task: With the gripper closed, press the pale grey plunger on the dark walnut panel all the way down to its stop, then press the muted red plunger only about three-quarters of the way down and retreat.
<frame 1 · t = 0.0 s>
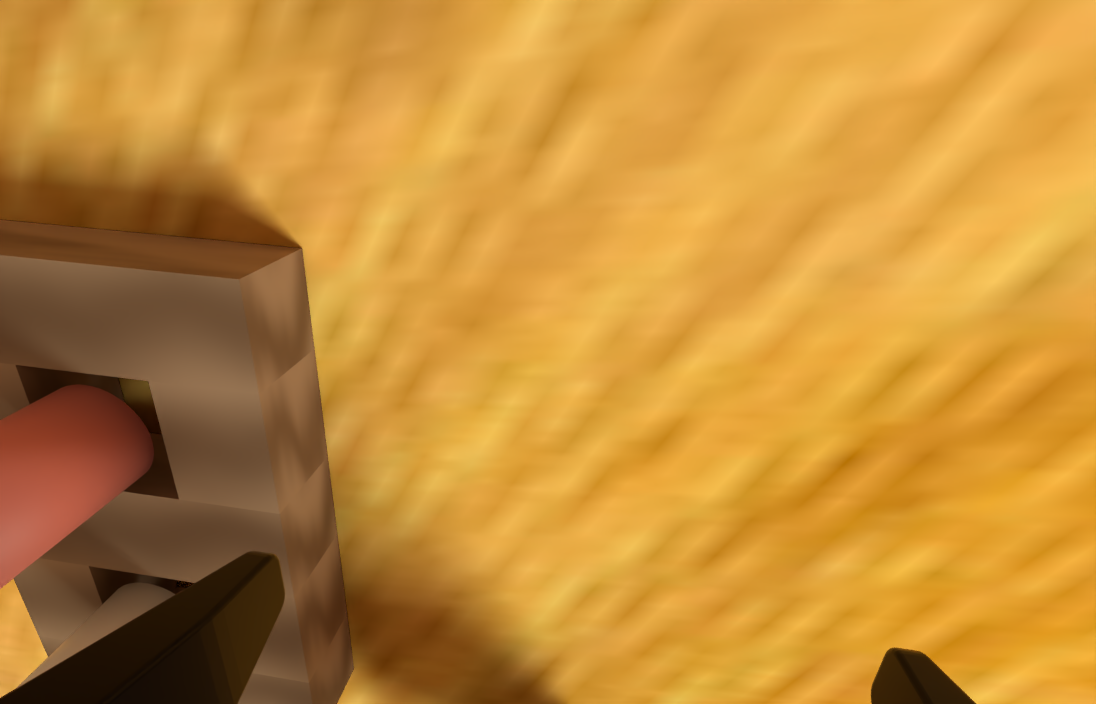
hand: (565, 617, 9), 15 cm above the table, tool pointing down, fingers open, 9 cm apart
red plunger: (28, 481, 20), point 7 cm above the table, slide at 0.0 cm
press panel: (195, 477, 29), on the table
grey plunger: (104, 677, 24), point 7 cm above the table, slide at 0.0 cm
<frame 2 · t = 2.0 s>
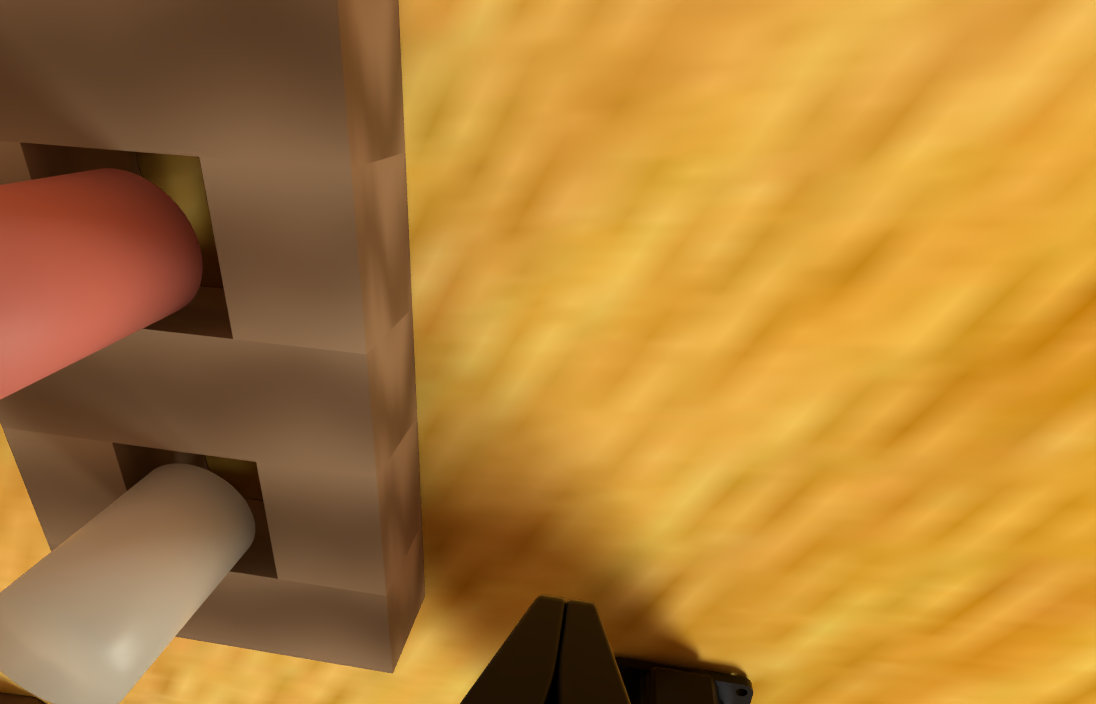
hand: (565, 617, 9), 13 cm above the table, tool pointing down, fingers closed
red plunger: (38, 275, 15), point 7 cm above the table, slide at 0.0 cm
press panel: (241, 345, 23), on the table
grey plunger: (135, 575, 19), point 7 cm above the table, slide at 0.0 cm
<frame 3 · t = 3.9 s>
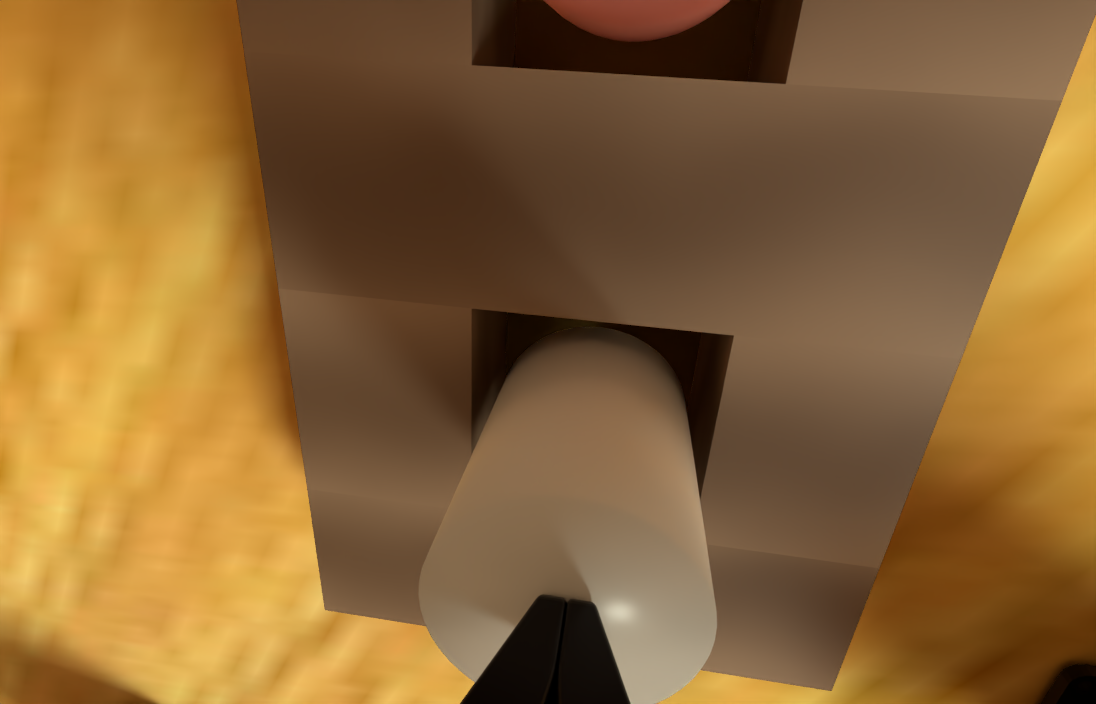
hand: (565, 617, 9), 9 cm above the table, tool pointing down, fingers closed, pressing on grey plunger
press panel: (617, 177, 15), on the table
grey plunger: (580, 490, 11), point 6 cm above the table, slide at 0.9 cm, touching gripper
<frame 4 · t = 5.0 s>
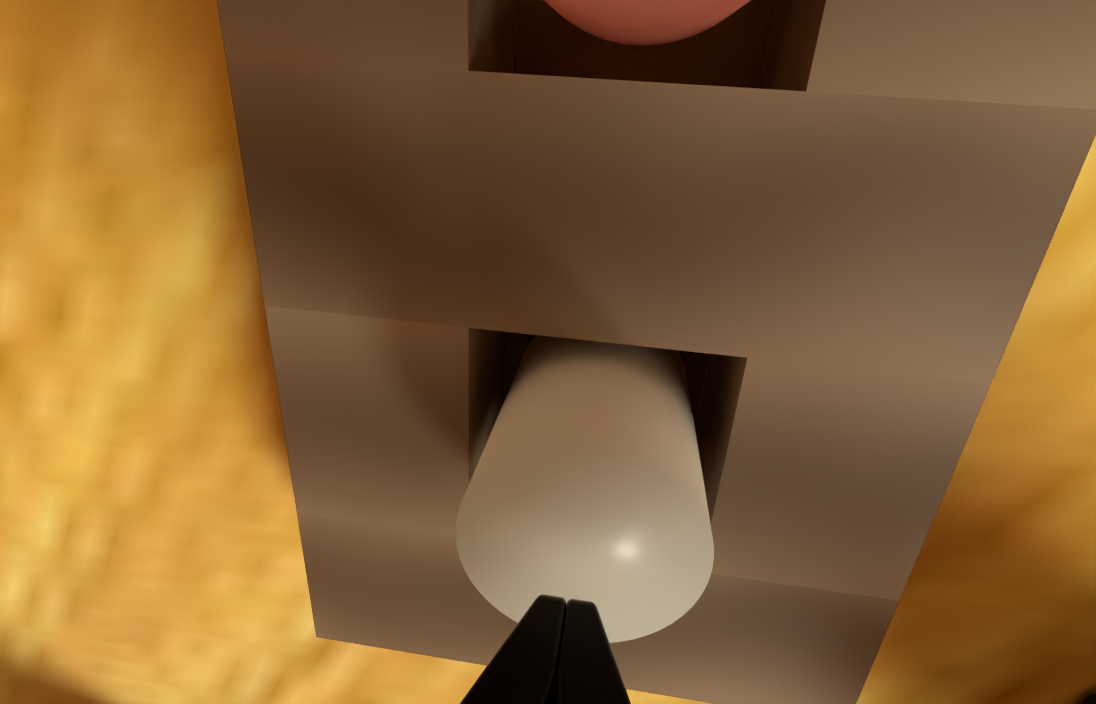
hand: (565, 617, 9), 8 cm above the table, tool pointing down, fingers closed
press panel: (622, 187, 14), on the table
grey plunger: (593, 451, 13), point 4 cm above the table, slide at 3.2 cm
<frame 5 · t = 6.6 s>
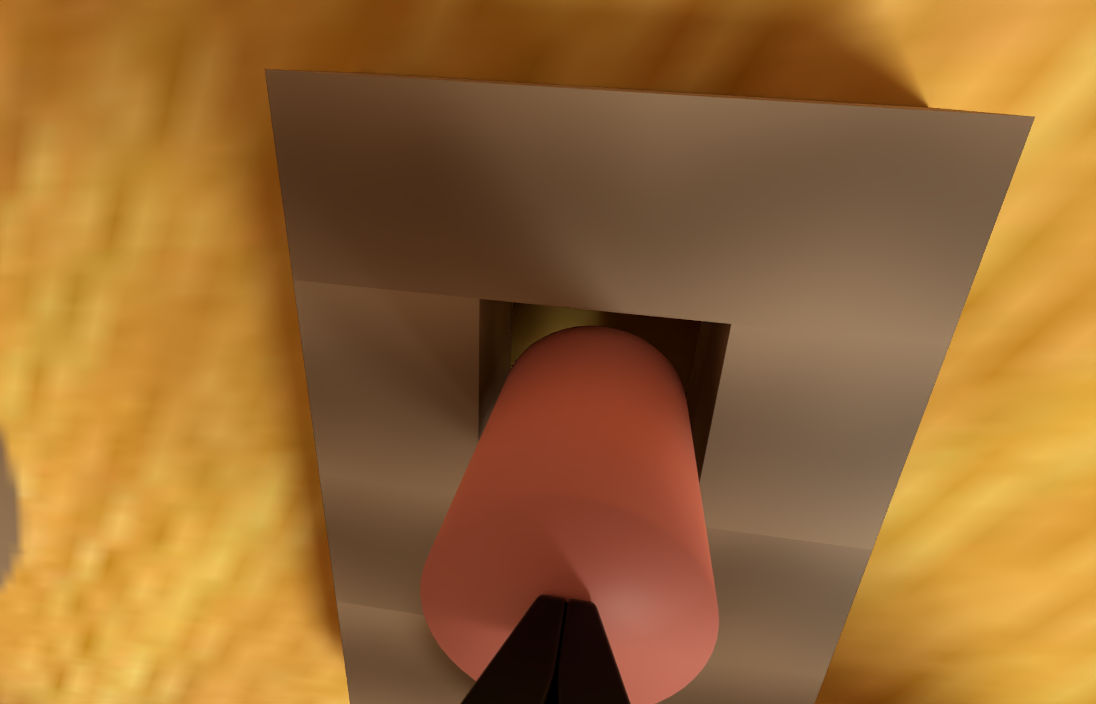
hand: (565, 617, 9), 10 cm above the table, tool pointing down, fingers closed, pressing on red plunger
red plunger: (582, 489, 11), point 7 cm above the table, slide at 0.4 cm, touching gripper
press panel: (587, 486, 19), on the table
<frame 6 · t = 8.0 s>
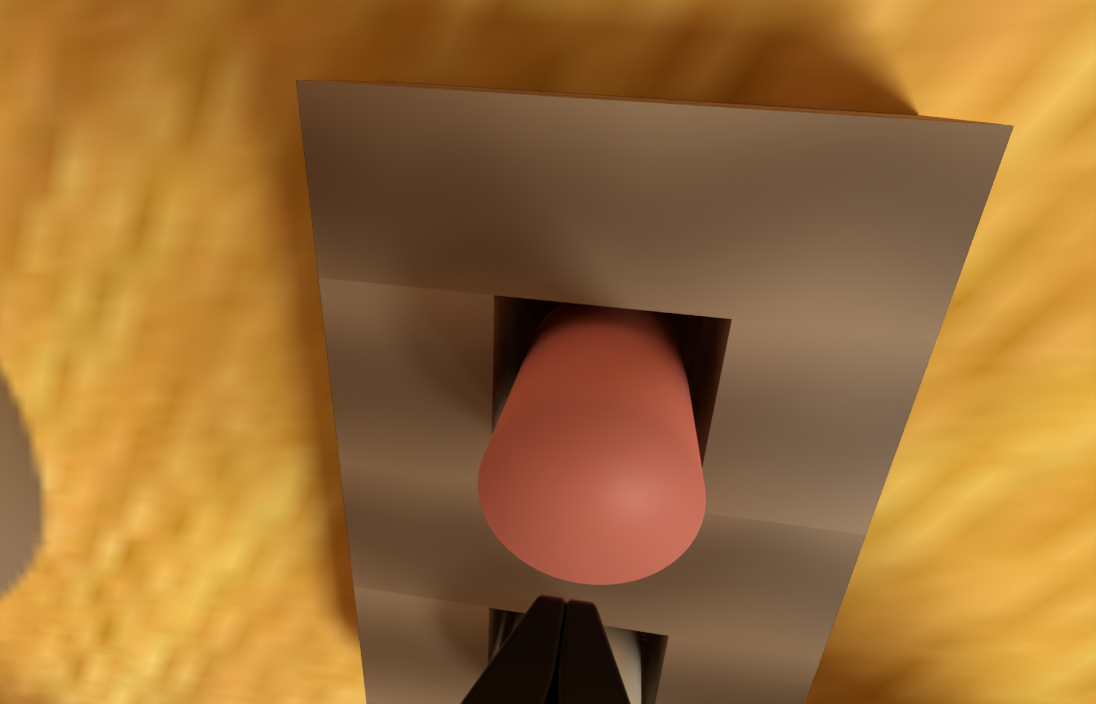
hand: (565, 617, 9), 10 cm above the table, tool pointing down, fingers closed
red plunger: (598, 419, 14), point 4 cm above the table, slide at 2.5 cm
press panel: (593, 477, 20), on the table
grey plunger: (571, 675, 19), point 4 cm above the table, slide at 3.2 cm
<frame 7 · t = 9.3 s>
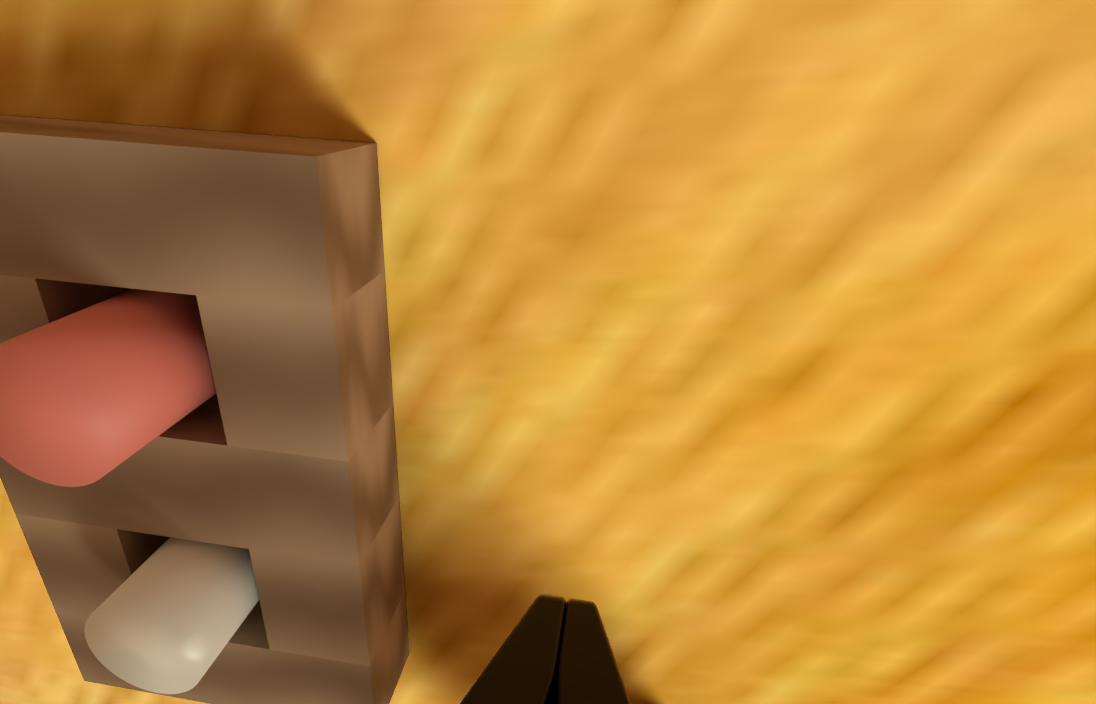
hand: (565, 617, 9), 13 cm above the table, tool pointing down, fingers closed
red plunger: (124, 372, 19), point 4 cm above the table, slide at 2.5 cm
press panel: (236, 430, 25), on the table
grey plunger: (199, 586, 24), point 4 cm above the table, slide at 3.2 cm
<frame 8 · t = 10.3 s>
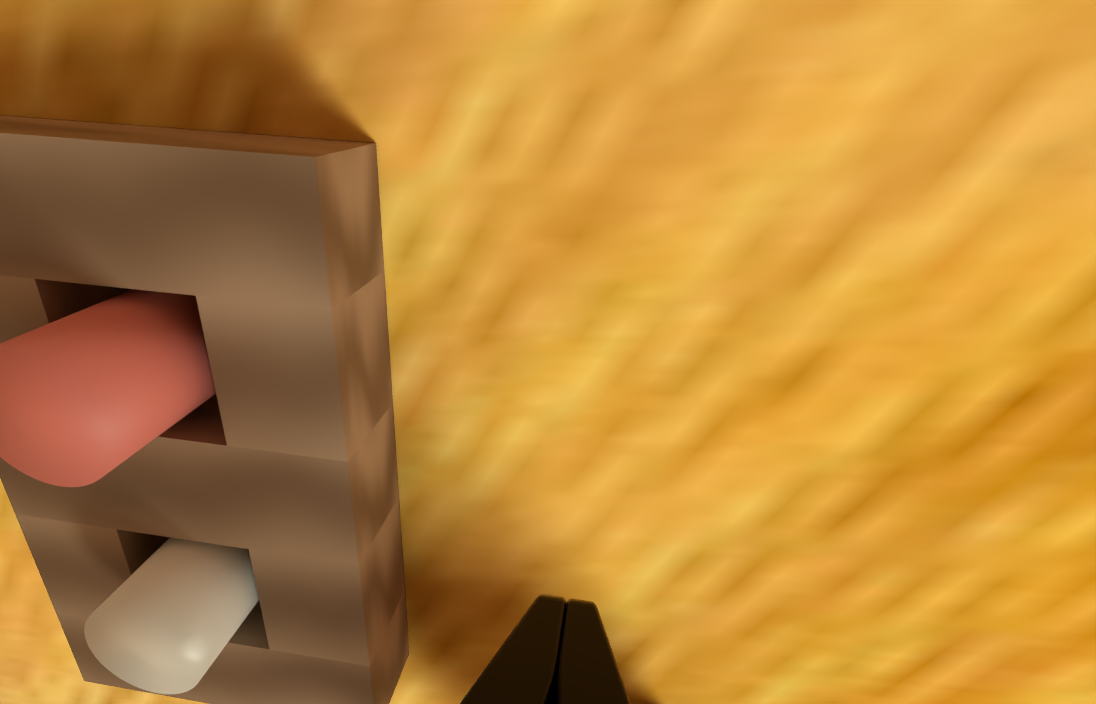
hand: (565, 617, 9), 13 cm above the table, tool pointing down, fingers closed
red plunger: (123, 372, 19), point 4 cm above the table, slide at 2.5 cm
press panel: (236, 431, 25), on the table
grey plunger: (199, 587, 24), point 4 cm above the table, slide at 3.2 cm
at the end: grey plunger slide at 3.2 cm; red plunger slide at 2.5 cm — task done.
